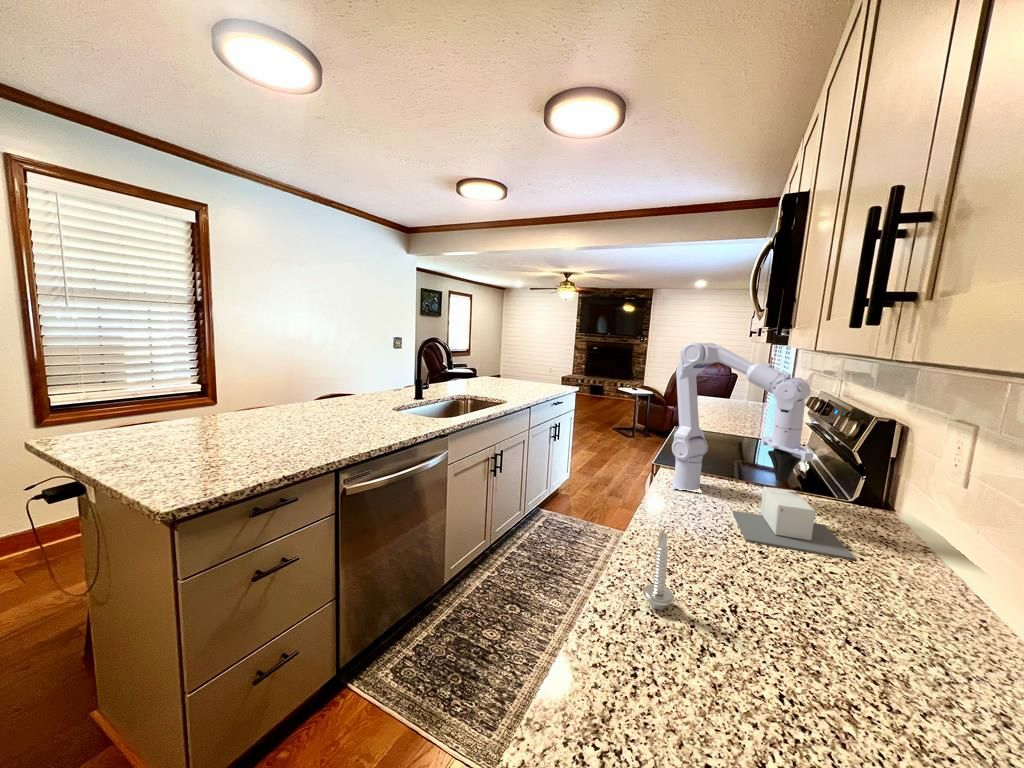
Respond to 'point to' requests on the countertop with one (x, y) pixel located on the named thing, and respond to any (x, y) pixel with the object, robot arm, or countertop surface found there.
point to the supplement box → (787, 513)
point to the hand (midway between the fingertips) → (781, 480)
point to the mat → (762, 533)
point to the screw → (659, 578)
